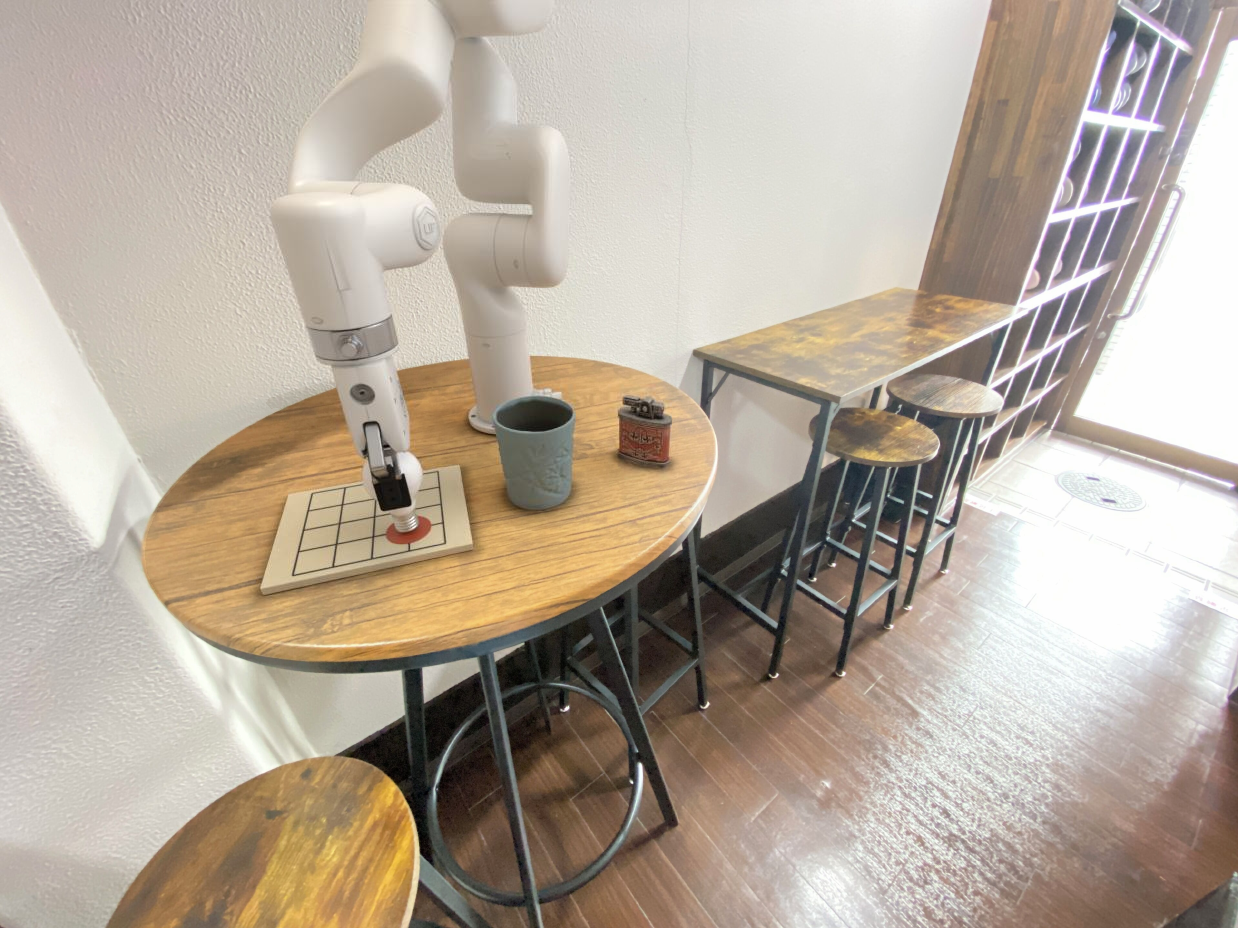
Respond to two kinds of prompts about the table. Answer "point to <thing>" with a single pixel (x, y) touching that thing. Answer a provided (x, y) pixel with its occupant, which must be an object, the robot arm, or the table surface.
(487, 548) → the table surface
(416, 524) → the lightbulb
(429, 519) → the board
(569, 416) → the grey green cup
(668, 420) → the lighter
